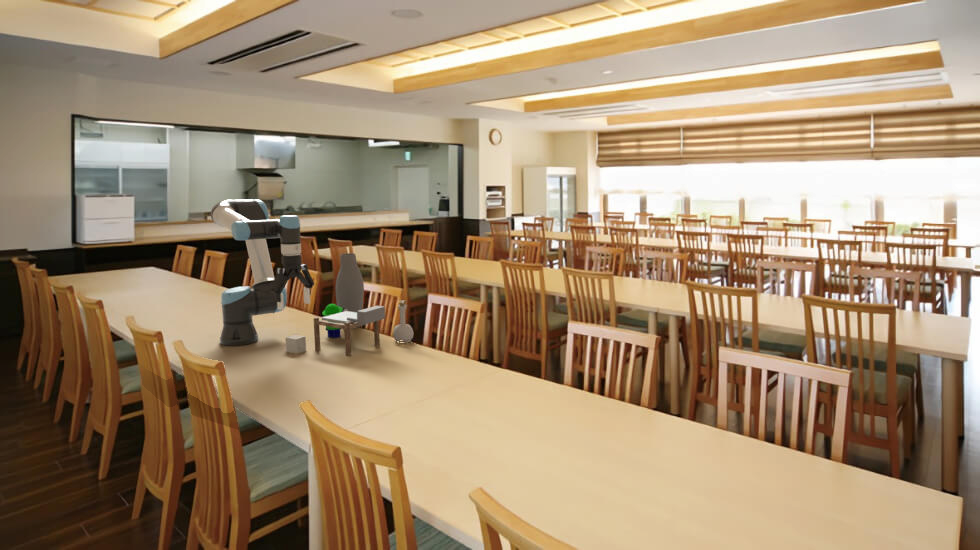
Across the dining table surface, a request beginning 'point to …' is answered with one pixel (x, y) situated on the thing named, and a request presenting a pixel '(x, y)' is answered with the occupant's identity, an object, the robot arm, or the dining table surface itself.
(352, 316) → the grey faceted block
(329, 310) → the toy
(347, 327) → the frame
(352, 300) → the vase
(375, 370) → the dining table surface
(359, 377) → the dining table surface
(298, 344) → the stone
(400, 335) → the potion bottle
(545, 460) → the dining table surface
